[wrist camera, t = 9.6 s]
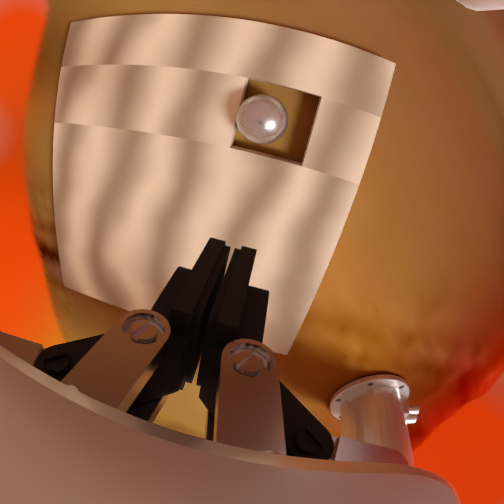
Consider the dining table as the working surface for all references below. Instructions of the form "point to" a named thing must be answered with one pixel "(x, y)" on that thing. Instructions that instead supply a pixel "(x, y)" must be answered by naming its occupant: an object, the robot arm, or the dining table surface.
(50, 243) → the dining table surface
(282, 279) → the maple board
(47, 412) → the robot arm
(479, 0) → the foam cup
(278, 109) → the steel ball
